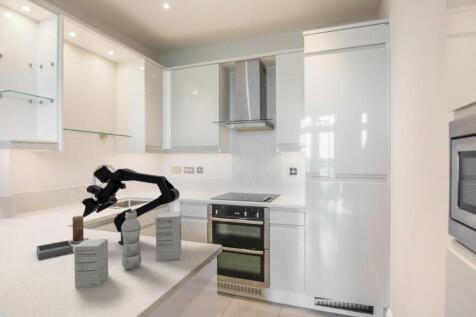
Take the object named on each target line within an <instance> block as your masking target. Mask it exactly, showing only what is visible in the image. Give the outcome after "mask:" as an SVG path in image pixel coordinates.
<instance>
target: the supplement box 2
mask: <svg viewBox="0 0 476 317" xmlns="http://www.w3.org/2000/svg"><path fill="white" fill-rule="evenodd" d="M181 256H182V212H181V211H172V212H159V213H158V214H157V216H156V217H155V261H156V262H162V261H163V262H164V261H177V260H181Z"/></svg>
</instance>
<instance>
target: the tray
mask: <svg viewBox="0 0 476 317" xmlns="http://www.w3.org/2000/svg"><path fill="white" fill-rule="evenodd" d="M71 253H74V245H73V244H71V243H70V240H69V239H68V240H63V241H62V240H61V241H57V242H52V243H47V244H42V245H36V254H37V259H38V260H43V259H48V258H53V257H58V256H62V255H66V254H71Z"/></svg>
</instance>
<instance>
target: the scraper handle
mask: <svg viewBox="0 0 476 317" xmlns="http://www.w3.org/2000/svg"><path fill="white" fill-rule="evenodd" d="M71 218H72V239H71V240H69V241H70V243H71V244H72V245H78V244H80V243H81V242H83V241H84V240H87V239H89V237H84V234H85V233H84V217H83V215H75V216H72V217H71Z"/></svg>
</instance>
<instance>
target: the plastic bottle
mask: <svg viewBox="0 0 476 317" xmlns="http://www.w3.org/2000/svg"><path fill="white" fill-rule="evenodd" d="M136 217H137V212H136V211H133V210H131V211H129V212H126V216H125V218H126V220H125V221H124V223H123V224H122V227H121V231H122V236H123V247H122V248H123V249H122V251H123V252H122V256H121V265H122V268H123V269H125V270H134V269H137V268H140V266H141V264H142V254H141V253H142V252H141V247H140V237H141V236H140V235H141V229H142V227H141V225H142V224H141V223H140V221H139V220H138V217H137V218H136Z"/></svg>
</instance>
